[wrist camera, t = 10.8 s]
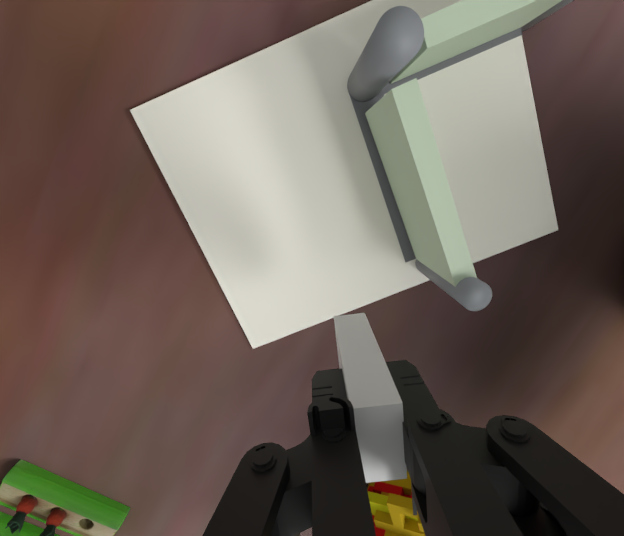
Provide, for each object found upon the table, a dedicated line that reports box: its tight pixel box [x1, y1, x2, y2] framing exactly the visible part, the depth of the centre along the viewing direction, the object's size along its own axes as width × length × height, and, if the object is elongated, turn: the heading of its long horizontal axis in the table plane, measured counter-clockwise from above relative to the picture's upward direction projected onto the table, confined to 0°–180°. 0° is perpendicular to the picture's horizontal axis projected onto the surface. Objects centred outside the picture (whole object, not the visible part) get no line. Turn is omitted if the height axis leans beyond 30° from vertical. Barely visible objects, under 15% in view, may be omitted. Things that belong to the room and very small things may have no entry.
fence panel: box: [365, 78, 492, 311], centre depth 19 cm, size 12×2×7 cm, turn 24°
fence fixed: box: [347, 0, 574, 102], centre depth 17 cm, size 12×2×8 cm, turn 112°
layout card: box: [130, 0, 558, 349], centre depth 22 cm, size 24×18×1 cm
